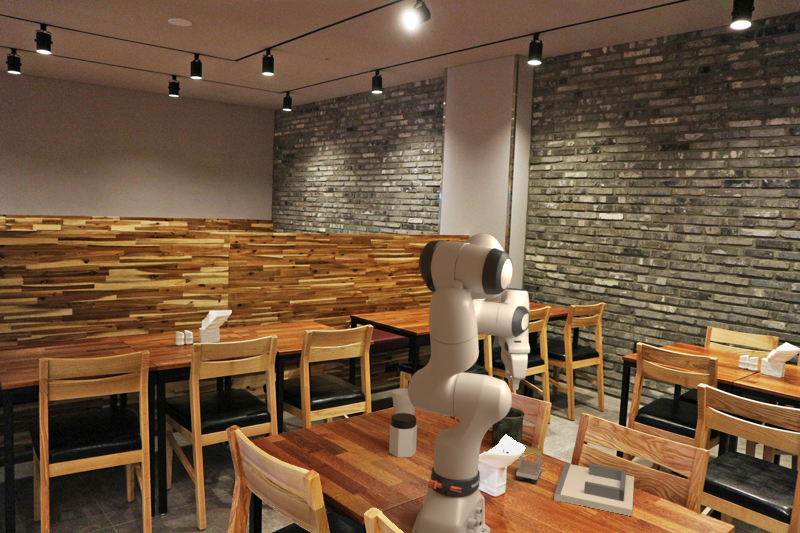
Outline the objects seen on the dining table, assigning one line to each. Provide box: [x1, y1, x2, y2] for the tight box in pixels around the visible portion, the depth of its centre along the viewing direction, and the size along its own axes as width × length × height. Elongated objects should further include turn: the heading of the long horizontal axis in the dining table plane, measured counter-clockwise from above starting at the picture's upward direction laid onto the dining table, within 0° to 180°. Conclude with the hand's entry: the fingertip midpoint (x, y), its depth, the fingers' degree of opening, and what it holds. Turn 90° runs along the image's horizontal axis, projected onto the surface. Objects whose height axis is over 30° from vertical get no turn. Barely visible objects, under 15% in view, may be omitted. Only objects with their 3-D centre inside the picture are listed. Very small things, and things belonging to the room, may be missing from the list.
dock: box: [553, 462, 635, 517], centre depth 164 cm, size 22×20×5 cm
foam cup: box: [391, 387, 416, 416], centre depth 210 cm, size 10×9×13 cm
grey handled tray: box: [516, 445, 543, 484], centre depth 171 cm, size 9×6×9 cm
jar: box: [388, 413, 418, 459], centre depth 187 cm, size 9×8×12 cm
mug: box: [491, 407, 525, 448], centre depth 193 cm, size 11×15×12 cm
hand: (511, 383), depth 176 cm, fingers open, 8 cm apart
